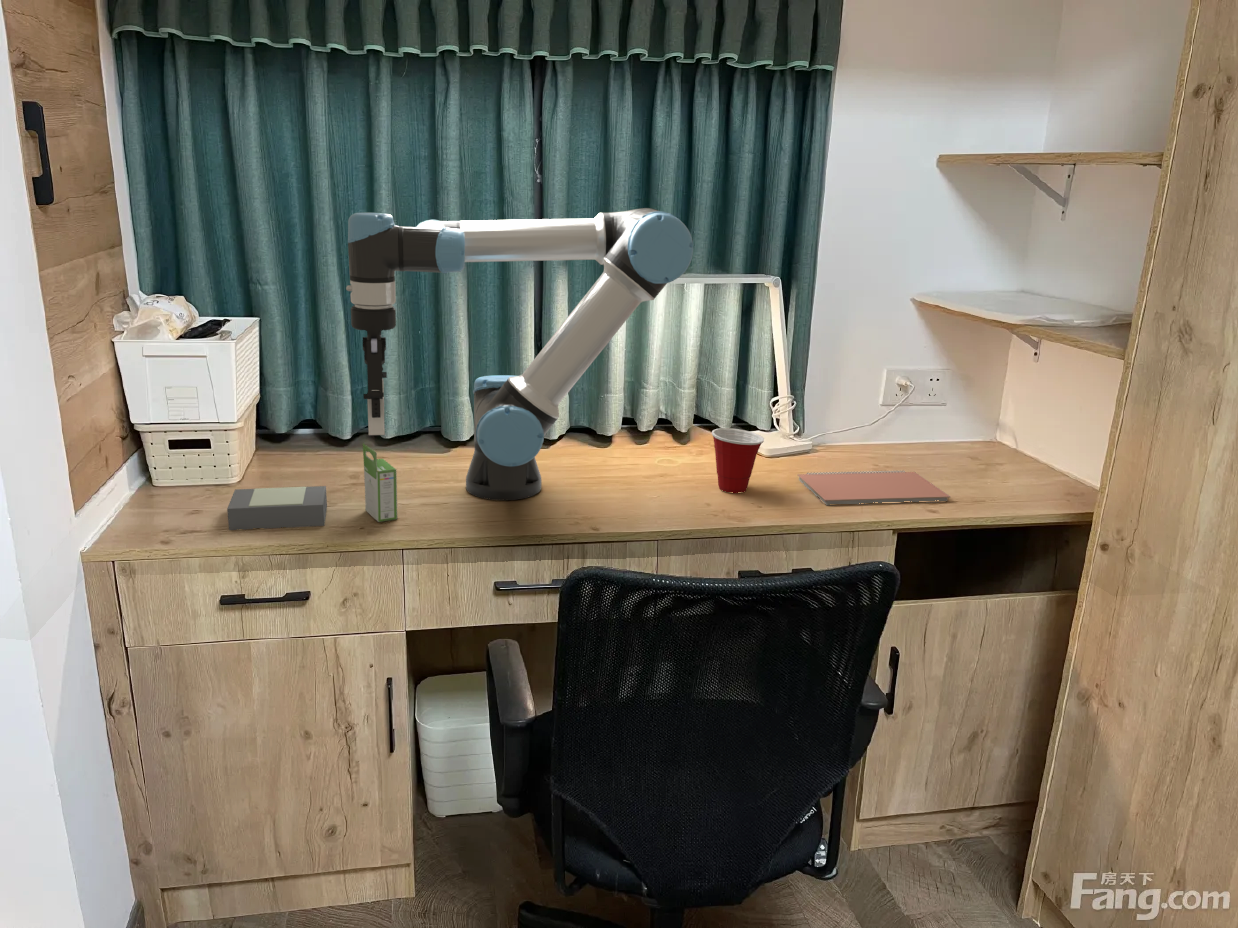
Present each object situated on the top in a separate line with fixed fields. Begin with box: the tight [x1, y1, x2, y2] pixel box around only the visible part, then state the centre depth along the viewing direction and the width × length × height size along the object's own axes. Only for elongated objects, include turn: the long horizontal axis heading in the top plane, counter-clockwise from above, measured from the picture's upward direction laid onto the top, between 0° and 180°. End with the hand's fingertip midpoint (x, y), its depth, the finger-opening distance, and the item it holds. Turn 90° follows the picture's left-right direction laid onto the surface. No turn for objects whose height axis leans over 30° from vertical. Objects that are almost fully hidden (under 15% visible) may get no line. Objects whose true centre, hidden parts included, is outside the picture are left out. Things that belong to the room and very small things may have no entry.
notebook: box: [797, 469, 952, 506], centre depth 204 cm, size 27×17×2 cm, turn 101°
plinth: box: [226, 485, 328, 531], centre depth 176 cm, size 16×10×4 cm, turn 103°
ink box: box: [362, 442, 398, 523], centre depth 178 cm, size 7×4×13 cm, turn 33°
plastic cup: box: [711, 427, 765, 494], centre depth 200 cm, size 11×11×12 cm
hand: (376, 423), depth 174 cm, fingers open, 13 cm apart
